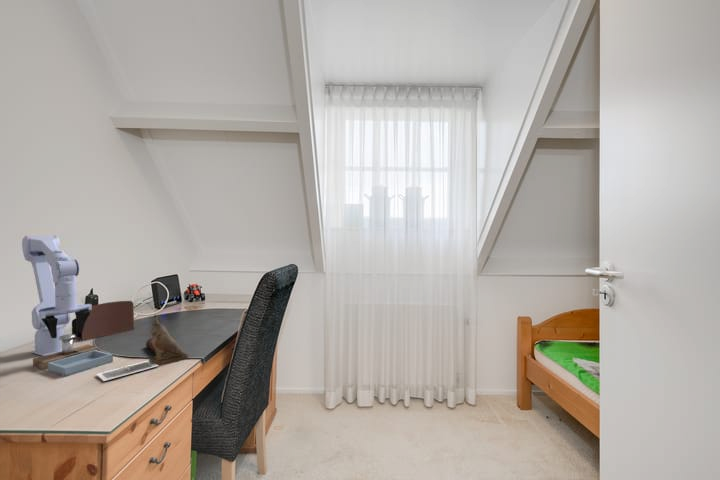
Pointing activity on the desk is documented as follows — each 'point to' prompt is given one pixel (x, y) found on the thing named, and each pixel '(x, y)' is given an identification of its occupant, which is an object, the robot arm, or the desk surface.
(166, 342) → the brown carved statuette
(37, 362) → the brown flat block
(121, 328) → the letter holder
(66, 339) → the steel pin
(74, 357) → the tray
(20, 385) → the desk surface
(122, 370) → the touchpad
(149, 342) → the sunglasses case
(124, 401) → the desk surface
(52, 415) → the desk surface
